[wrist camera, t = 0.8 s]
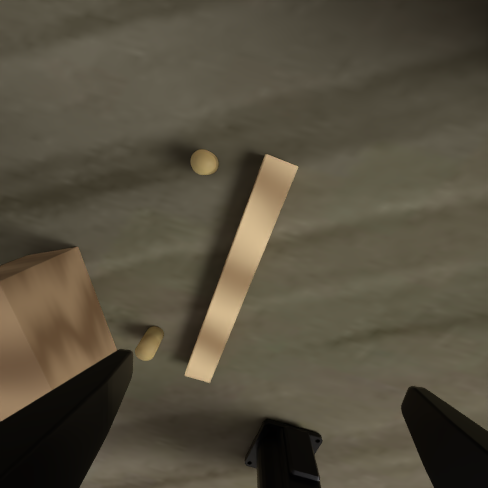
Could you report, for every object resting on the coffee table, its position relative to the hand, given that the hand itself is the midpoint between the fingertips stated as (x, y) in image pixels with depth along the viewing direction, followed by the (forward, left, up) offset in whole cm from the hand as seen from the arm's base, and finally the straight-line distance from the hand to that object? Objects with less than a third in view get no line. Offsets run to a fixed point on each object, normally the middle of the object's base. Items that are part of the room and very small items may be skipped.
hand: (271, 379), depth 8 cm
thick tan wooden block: (-11, +13, -13) cm, 22 cm away
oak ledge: (-3, +3, -13) cm, 14 cm away
